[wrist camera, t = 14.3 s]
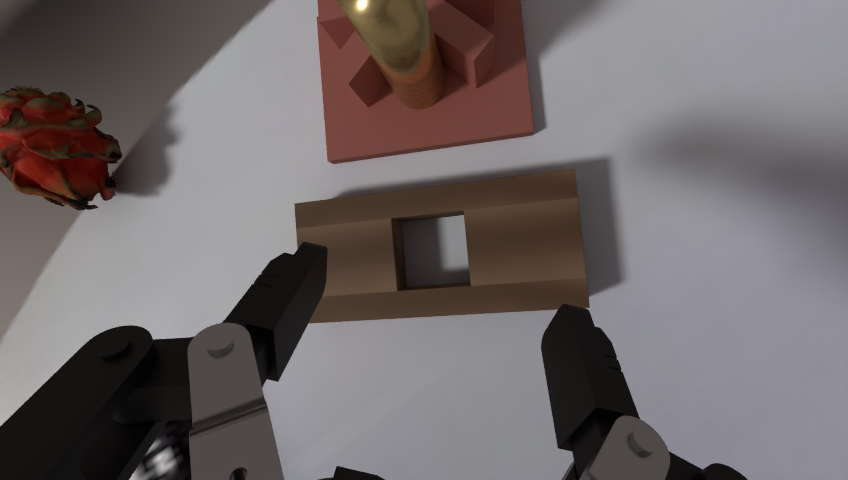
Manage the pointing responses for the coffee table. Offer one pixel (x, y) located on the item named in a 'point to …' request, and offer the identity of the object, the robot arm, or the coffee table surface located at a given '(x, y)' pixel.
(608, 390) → the robot arm
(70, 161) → the dragon fruit
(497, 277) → the brown flat block
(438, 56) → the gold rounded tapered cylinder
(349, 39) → the V-block
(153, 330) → the coffee table surface
